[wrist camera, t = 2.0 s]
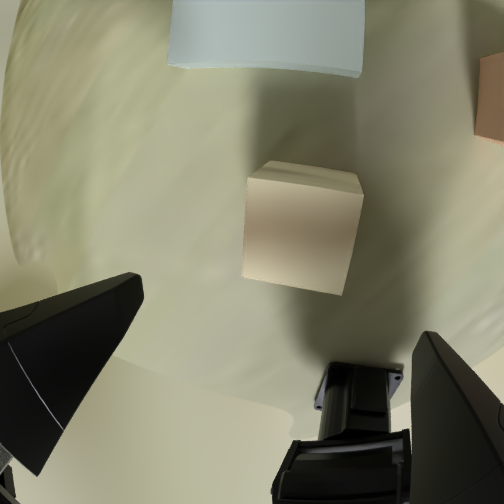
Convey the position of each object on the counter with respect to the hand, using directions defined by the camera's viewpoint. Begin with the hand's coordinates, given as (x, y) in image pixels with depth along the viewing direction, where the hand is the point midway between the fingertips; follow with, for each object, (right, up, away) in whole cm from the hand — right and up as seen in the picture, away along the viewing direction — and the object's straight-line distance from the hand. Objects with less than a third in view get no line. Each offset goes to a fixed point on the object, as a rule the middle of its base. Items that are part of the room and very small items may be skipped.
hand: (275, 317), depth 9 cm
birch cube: (+3, +5, +9) cm, 11 cm away
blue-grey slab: (+1, +17, +4) cm, 17 cm away
